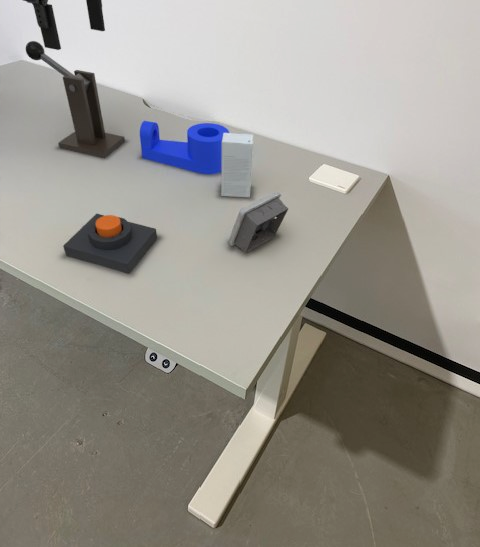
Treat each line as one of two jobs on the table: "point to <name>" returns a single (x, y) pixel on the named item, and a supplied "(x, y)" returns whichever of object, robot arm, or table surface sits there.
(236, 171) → the cosmetic box
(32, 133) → the table surface
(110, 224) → the button
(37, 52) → the lever
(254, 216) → the electrical switch
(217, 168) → the bracket
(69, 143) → the bracket
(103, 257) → the button box
